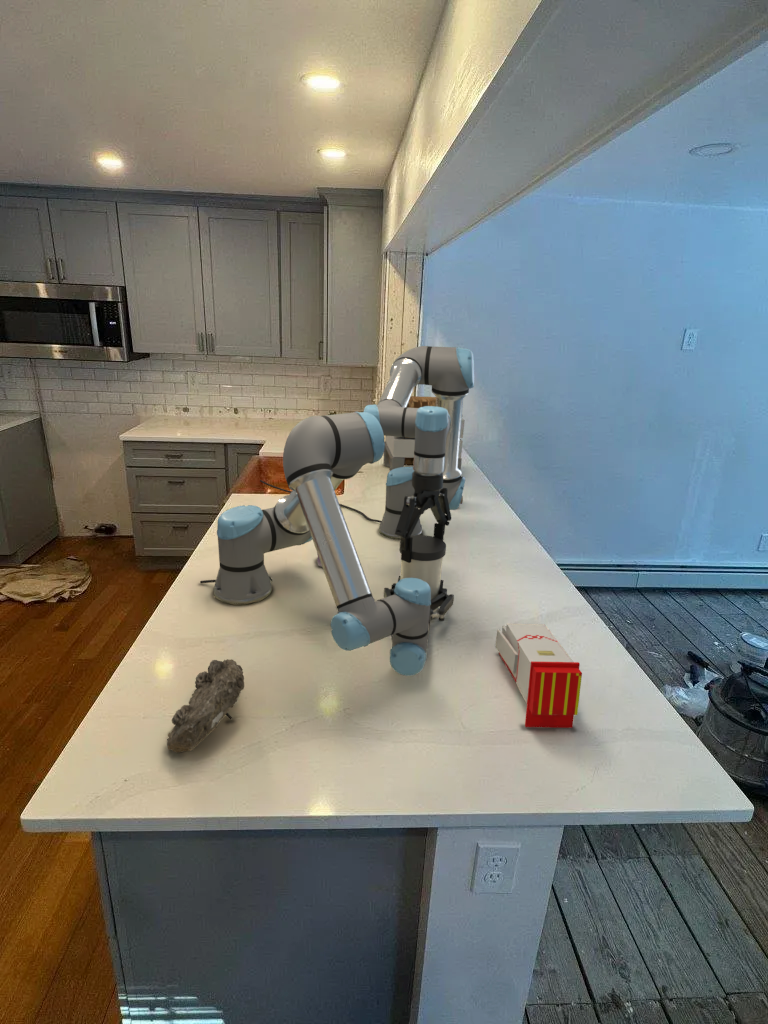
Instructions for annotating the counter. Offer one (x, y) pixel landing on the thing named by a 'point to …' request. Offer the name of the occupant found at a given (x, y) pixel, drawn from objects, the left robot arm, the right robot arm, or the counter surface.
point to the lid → (427, 548)
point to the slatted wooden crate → (410, 440)
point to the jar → (424, 573)
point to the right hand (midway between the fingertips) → (422, 554)
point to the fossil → (206, 705)
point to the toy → (541, 674)
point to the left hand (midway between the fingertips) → (420, 582)
